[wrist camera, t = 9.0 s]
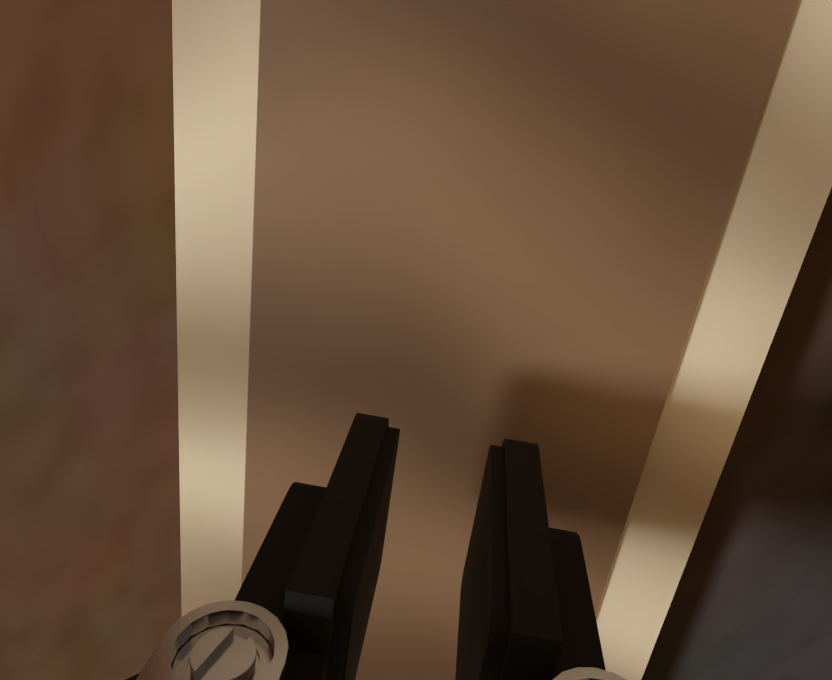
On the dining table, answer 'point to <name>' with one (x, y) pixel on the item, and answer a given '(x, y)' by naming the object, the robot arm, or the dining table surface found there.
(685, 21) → the serving tray
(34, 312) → the dining table surface
